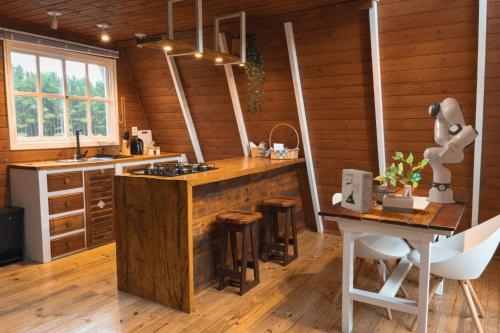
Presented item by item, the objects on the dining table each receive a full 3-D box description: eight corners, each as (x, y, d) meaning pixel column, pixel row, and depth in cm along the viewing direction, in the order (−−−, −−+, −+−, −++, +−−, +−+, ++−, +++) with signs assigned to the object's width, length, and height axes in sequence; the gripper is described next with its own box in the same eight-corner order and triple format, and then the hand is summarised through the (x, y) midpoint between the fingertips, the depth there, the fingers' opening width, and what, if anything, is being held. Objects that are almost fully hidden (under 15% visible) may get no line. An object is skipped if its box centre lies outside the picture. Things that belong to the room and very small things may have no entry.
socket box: (383, 206, 264) (384, 194, 263) (412, 209, 257) (413, 197, 256) (382, 210, 251) (382, 198, 250) (412, 213, 244) (413, 200, 243)
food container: (392, 204, 273) (393, 189, 272) (393, 205, 267) (393, 191, 266) (373, 202, 276) (374, 188, 275) (374, 204, 270) (374, 190, 269)
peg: (388, 208, 258) (388, 193, 257) (394, 208, 257) (395, 193, 256) (387, 209, 255) (388, 194, 254) (394, 210, 253) (395, 194, 252)
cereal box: (341, 206, 262) (342, 169, 260) (350, 205, 265) (352, 168, 262) (361, 213, 242) (362, 173, 240) (371, 212, 245) (373, 172, 242)
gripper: (448, 142, 255) (430, 157, 259) (450, 144, 236) (432, 159, 241) (455, 150, 253) (437, 164, 258) (458, 151, 235) (439, 167, 239)
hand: (435, 162), depth 249 cm, fingers open, 8 cm apart
